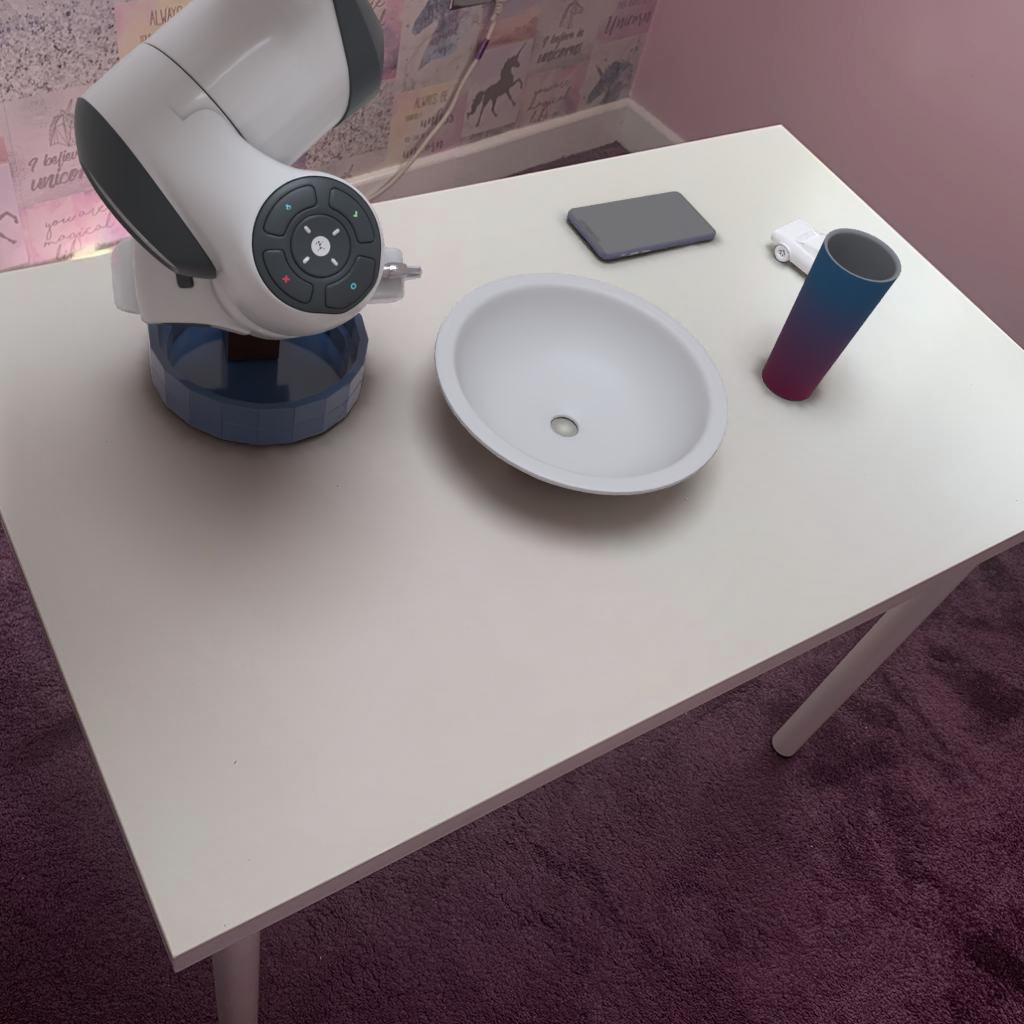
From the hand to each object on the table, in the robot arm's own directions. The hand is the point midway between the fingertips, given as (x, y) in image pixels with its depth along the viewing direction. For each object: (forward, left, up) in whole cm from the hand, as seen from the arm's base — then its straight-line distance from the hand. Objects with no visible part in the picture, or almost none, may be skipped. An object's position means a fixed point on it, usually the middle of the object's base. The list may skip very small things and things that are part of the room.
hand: (250, 285), depth 82 cm
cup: (+48, -7, -6) cm, 49 cm away
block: (0, -1, -5) cm, 5 cm away
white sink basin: (+24, -11, -6) cm, 28 cm away
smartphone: (+41, +15, -6) cm, 44 cm away
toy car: (+59, +8, -6) cm, 60 cm away
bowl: (0, -3, -6) cm, 7 cm away
